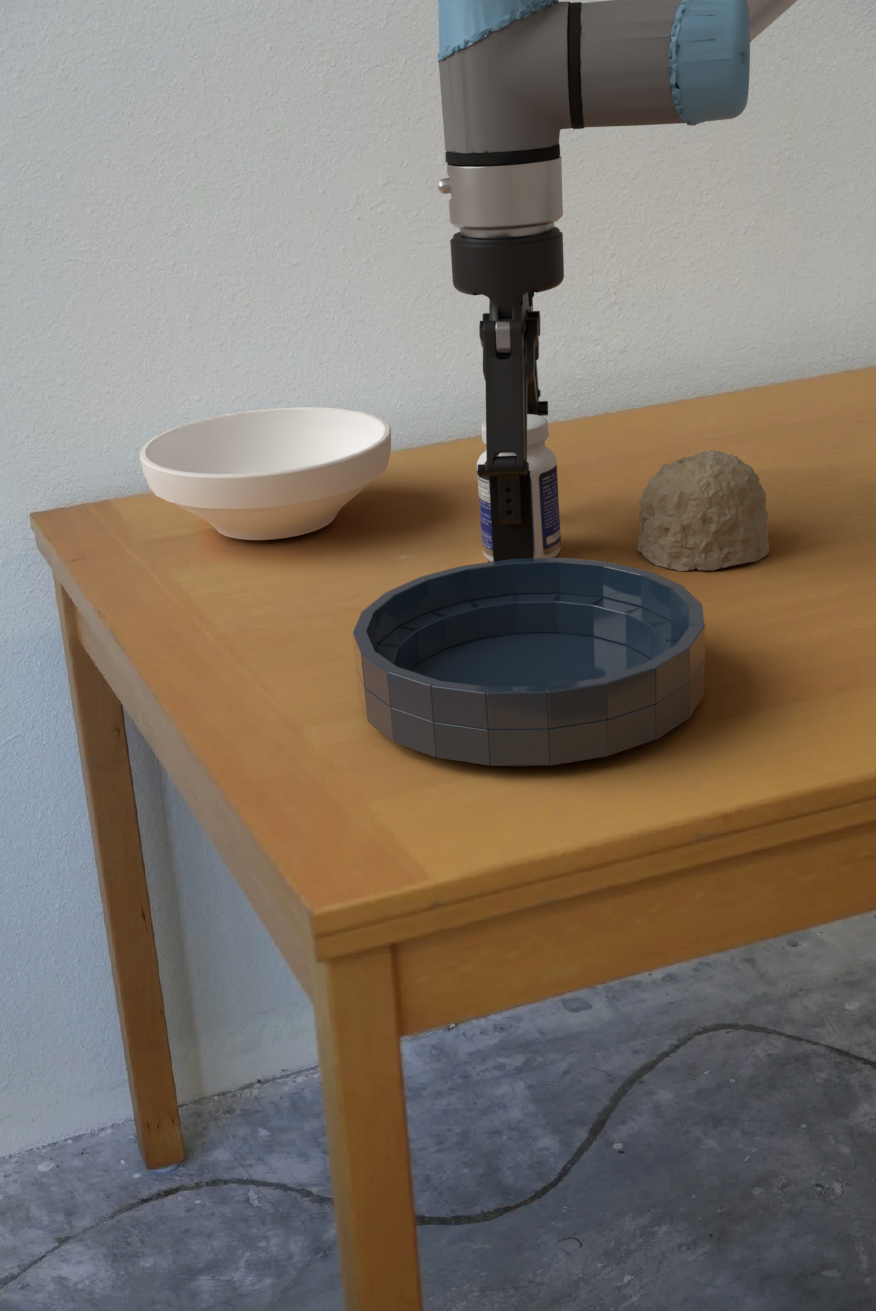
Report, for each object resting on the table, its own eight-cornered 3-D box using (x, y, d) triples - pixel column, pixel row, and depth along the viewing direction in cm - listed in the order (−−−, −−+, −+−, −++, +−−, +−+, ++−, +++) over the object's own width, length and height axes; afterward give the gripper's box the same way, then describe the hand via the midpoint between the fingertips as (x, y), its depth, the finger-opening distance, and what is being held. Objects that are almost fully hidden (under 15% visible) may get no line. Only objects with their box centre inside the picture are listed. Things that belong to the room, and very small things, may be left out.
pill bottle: (534, 536, 111) (528, 406, 107) (576, 557, 106) (571, 422, 102) (468, 553, 109) (459, 421, 105) (507, 575, 104) (500, 437, 100)
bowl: (137, 510, 124) (124, 427, 121) (361, 475, 129) (354, 394, 126) (172, 586, 107) (158, 491, 104) (430, 541, 112) (423, 450, 109)
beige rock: (638, 610, 107) (632, 529, 98) (639, 503, 112) (634, 417, 103) (769, 608, 105) (775, 525, 97) (765, 500, 110) (770, 412, 102)
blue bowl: (695, 628, 93) (695, 553, 91) (713, 778, 75) (713, 689, 73) (388, 634, 96) (381, 561, 94) (335, 780, 78) (326, 695, 76)
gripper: (467, 206, 110) (482, 482, 118) (428, 261, 87) (450, 596, 96) (568, 200, 109) (576, 479, 117) (555, 254, 86) (566, 594, 95)
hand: (519, 532), depth 107 cm, fingers open, 12 cm apart
